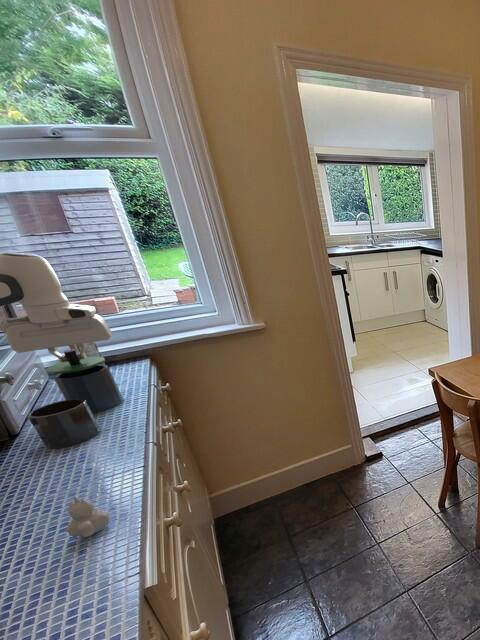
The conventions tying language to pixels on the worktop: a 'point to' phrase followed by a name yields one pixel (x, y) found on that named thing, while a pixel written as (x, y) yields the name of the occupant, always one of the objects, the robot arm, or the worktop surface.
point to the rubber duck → (85, 518)
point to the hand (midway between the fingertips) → (74, 360)
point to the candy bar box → (88, 350)
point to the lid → (74, 363)
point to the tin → (91, 387)
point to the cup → (64, 423)
